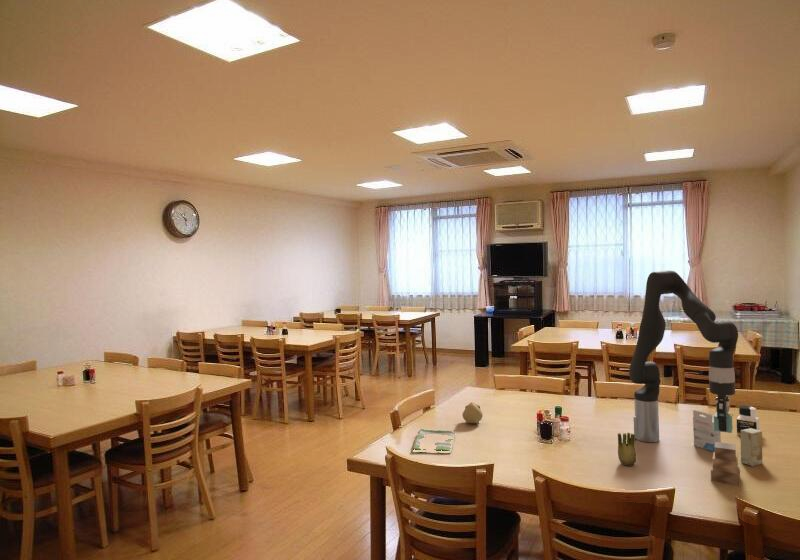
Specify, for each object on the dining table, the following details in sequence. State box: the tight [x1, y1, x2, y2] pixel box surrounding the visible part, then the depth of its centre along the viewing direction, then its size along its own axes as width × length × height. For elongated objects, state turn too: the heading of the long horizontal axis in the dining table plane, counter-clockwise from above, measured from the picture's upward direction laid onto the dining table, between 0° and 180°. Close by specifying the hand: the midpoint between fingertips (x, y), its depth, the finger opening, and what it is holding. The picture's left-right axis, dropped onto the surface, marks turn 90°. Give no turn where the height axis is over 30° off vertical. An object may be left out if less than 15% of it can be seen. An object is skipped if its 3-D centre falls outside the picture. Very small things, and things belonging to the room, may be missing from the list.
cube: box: [713, 412, 734, 434], centre depth 173 cm, size 5×5×5 cm
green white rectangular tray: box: [412, 428, 456, 451], centre depth 219 cm, size 17×23×4 cm
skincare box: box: [740, 428, 763, 467], centre depth 186 cm, size 6×4×12 cm
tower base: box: [710, 463, 741, 487], centre depth 173 cm, size 8×8×4 cm
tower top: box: [714, 442, 737, 462], centre depth 173 cm, size 6×6×4 cm
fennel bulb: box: [617, 432, 637, 467], centre depth 189 cm, size 6×5×12 cm
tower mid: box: [711, 451, 739, 474], centre depth 173 cm, size 7×7×4 cm
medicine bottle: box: [736, 405, 760, 436], centre depth 216 cm, size 7×7×12 cm
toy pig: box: [462, 402, 484, 424], centre depth 246 cm, size 10×12×11 cm
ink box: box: [692, 409, 722, 452], centre depth 203 cm, size 9×5×15 cm, turn 23°
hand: (723, 428), depth 173 cm, fingers closed on cube, 5 cm apart
